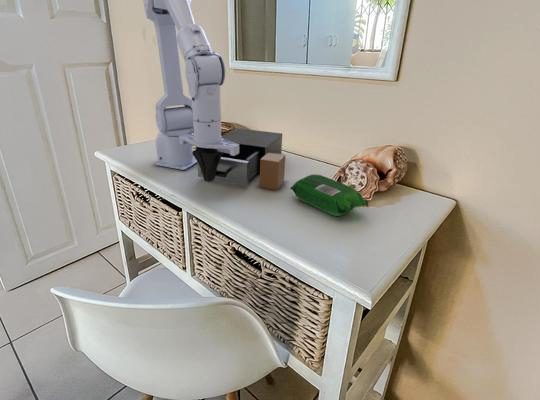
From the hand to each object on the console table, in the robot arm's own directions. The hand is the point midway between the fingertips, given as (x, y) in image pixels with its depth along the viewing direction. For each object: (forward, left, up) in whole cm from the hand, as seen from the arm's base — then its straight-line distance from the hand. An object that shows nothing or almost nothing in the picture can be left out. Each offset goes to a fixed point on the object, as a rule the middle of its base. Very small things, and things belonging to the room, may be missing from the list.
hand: (209, 179), depth 74 cm
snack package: (+25, +5, -4) cm, 26 cm away
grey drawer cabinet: (0, +22, -3) cm, 22 cm away
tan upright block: (+11, +10, -3) cm, 16 cm away
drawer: (0, +10, -3) cm, 10 cm away
